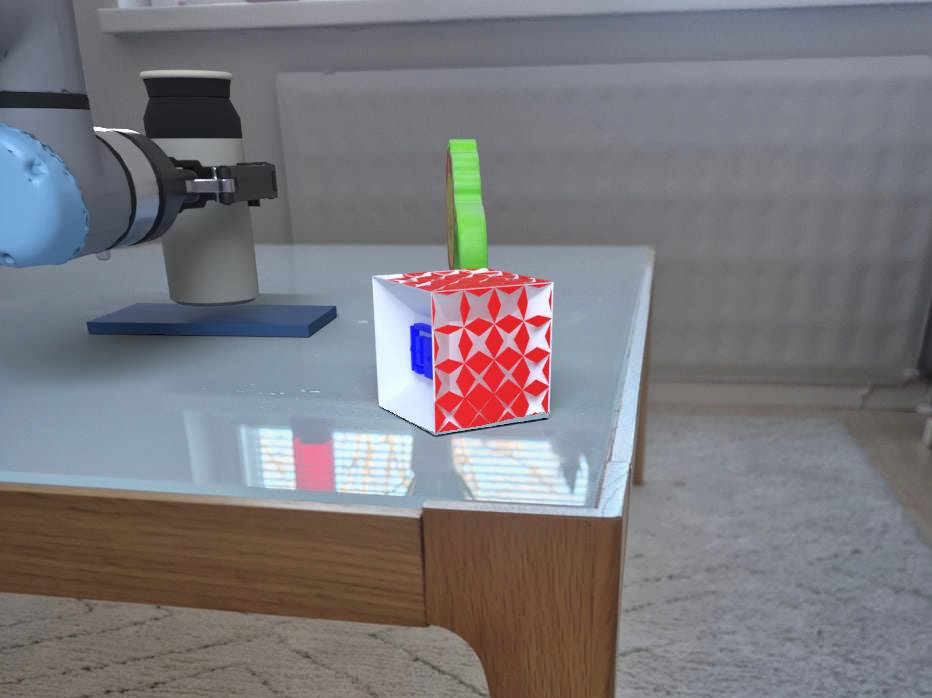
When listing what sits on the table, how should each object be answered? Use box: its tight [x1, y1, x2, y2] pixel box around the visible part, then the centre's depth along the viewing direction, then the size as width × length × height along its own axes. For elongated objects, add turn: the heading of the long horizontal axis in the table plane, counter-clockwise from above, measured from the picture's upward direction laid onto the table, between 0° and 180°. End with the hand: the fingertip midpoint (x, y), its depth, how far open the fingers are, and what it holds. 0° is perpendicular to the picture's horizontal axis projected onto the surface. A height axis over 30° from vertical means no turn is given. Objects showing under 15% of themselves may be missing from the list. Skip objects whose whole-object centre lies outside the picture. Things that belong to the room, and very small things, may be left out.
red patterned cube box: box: [371, 267, 555, 433], centre depth 57 cm, size 8×8×8 cm
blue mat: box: [85, 302, 338, 338], centre depth 87 cm, size 20×11×1 cm, turn 85°
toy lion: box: [444, 138, 489, 271], centre depth 75 cm, size 16×5×15 cm, turn 5°
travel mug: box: [139, 69, 260, 307], centre depth 82 cm, size 8×8×18 cm
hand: (218, 178), depth 86 cm, fingers closed on travel mug, 8 cm apart
